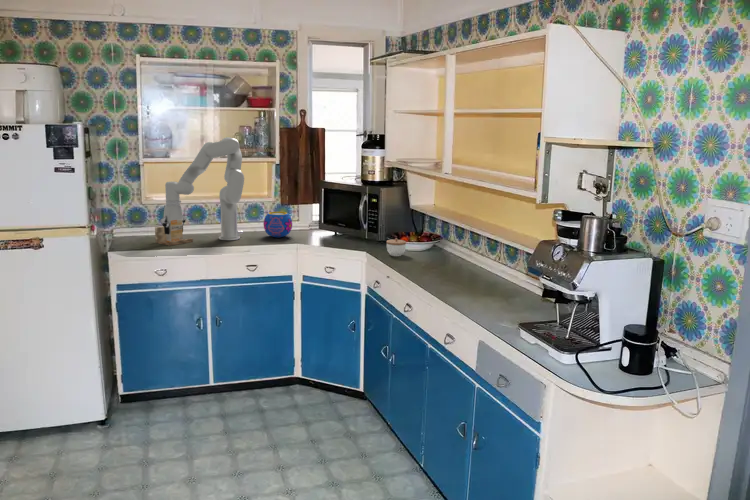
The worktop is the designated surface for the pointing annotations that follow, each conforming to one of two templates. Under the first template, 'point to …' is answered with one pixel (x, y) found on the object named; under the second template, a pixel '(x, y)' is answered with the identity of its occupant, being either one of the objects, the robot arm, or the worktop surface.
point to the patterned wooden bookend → (161, 238)
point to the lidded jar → (396, 247)
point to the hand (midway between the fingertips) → (174, 232)
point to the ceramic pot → (277, 224)
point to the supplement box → (175, 231)
